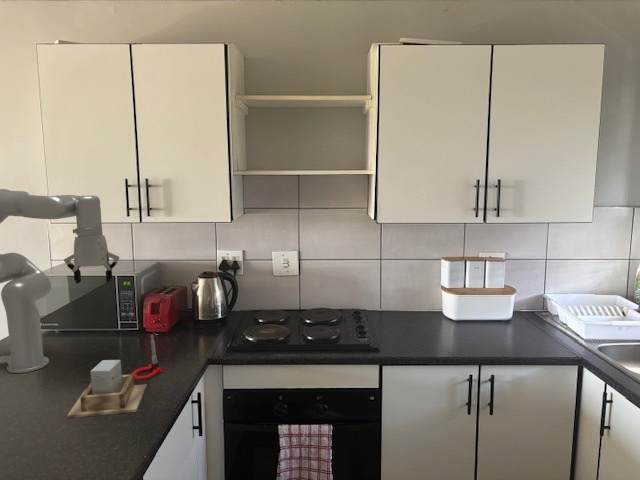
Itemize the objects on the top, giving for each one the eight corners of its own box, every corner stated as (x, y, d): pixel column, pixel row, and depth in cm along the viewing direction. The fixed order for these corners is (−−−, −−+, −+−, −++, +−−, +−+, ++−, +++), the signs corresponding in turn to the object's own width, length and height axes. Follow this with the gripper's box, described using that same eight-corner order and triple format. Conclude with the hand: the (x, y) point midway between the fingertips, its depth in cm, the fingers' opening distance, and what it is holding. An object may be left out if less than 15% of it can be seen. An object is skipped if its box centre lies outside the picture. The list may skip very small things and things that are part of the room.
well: (67, 418, 127) (65, 401, 127) (85, 391, 143) (84, 376, 142) (136, 411, 131) (135, 395, 130) (146, 386, 146) (145, 371, 145)
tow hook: (140, 383, 149) (165, 372, 157) (136, 346, 147) (161, 336, 154) (126, 377, 154) (150, 366, 162) (121, 340, 152) (146, 331, 159)
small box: (104, 392, 141) (102, 359, 139) (123, 392, 141) (121, 359, 139) (92, 405, 133) (89, 370, 131) (111, 405, 133) (109, 370, 131)
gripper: (58, 234, 150) (62, 285, 153) (114, 232, 154) (117, 283, 156) (66, 231, 158) (70, 280, 160) (119, 230, 161) (123, 278, 163)
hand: (93, 281), depth 158 cm, fingers open, 9 cm apart
